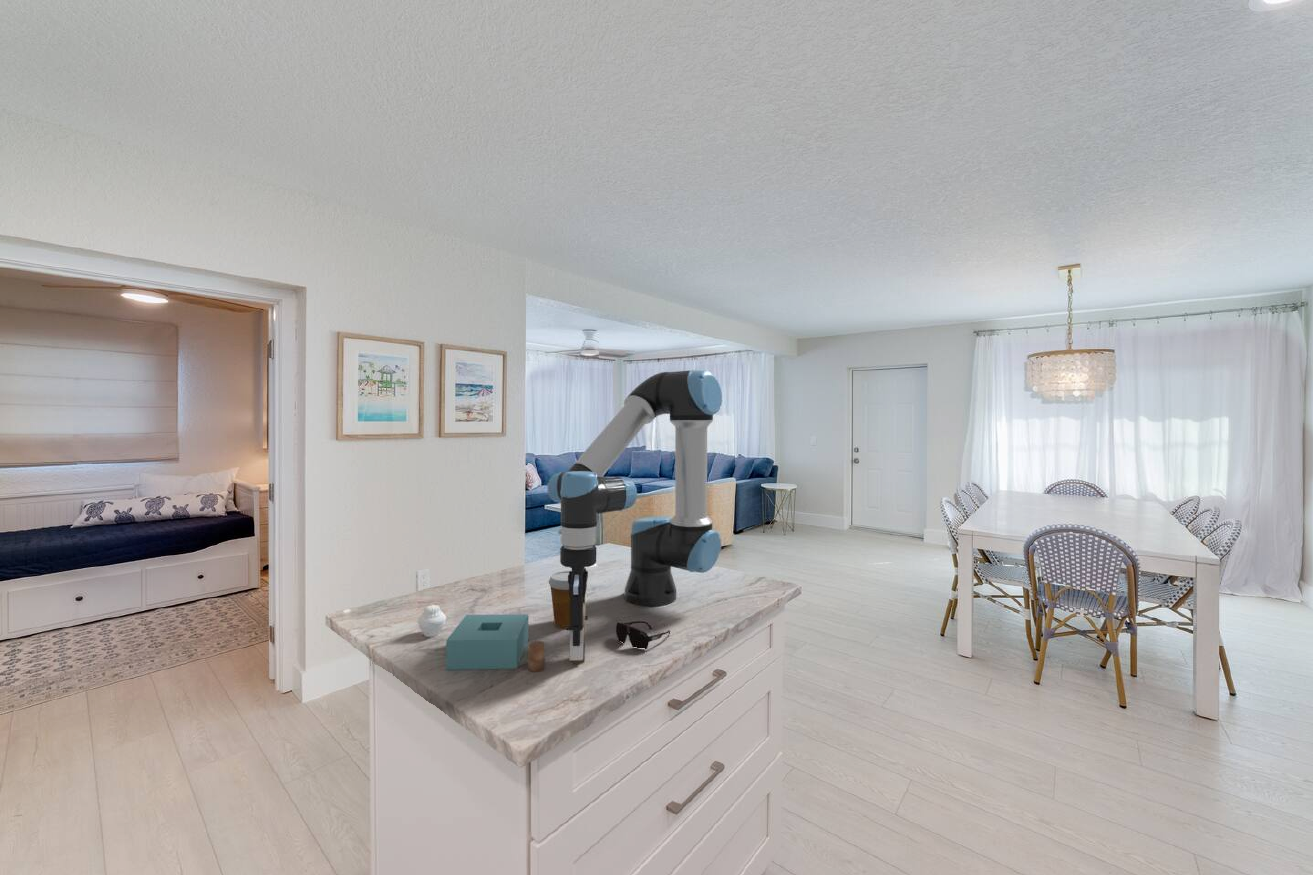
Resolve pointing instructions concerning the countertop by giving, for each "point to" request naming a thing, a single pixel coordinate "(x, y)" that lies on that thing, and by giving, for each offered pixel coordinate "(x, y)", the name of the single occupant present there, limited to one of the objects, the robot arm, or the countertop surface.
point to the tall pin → (583, 641)
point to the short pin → (536, 656)
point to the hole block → (487, 642)
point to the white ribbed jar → (431, 621)
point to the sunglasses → (635, 634)
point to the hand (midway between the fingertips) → (577, 655)
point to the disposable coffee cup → (560, 598)
